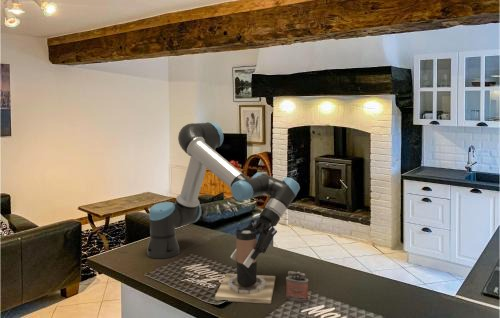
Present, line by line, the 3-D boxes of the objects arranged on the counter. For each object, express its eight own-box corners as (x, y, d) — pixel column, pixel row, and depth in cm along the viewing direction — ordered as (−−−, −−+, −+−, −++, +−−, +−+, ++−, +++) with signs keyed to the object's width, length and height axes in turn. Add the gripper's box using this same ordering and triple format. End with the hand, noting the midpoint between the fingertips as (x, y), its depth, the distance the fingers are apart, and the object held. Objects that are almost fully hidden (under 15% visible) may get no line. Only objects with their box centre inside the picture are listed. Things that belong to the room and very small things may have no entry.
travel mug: (254, 287, 147) (254, 234, 145) (234, 285, 149) (233, 233, 146) (258, 278, 155) (258, 228, 152) (239, 277, 156) (238, 227, 153)
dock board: (226, 277, 163) (226, 273, 163) (275, 279, 160) (275, 276, 160) (215, 300, 143) (214, 296, 143) (270, 303, 141) (270, 299, 140)
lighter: (309, 298, 145) (309, 271, 143) (307, 302, 141) (307, 275, 140) (287, 295, 147) (287, 269, 146) (284, 299, 144) (285, 272, 143)
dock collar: (232, 276, 160) (231, 273, 159) (267, 278, 158) (267, 275, 157) (224, 292, 146) (224, 289, 146) (263, 295, 144) (263, 291, 144)
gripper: (295, 224, 150) (261, 276, 142) (261, 213, 166) (229, 259, 158) (285, 212, 146) (249, 265, 138) (251, 202, 162) (218, 249, 155)
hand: (239, 262), depth 148 cm, fingers closed on travel mug, 7 cm apart
